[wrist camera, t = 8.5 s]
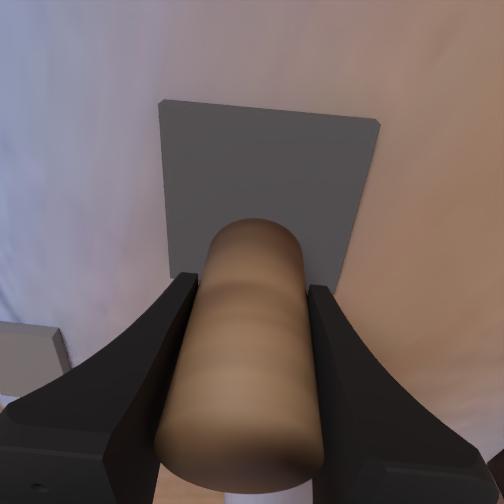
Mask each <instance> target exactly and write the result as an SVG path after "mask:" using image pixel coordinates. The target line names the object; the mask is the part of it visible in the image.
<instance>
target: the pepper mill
mask: <svg viewBox="0 0 504 504" xmlns="http://www.w3.org/2000/svg"><path fill="white" fill-rule="evenodd" d="M487 464H488V468H489V470H490V471H491V473H492V475H493V477H494V479H495V481H496V483H497V486H498V488H499V490H500V492H501V494H502V496H503V498H504V449H503V450H502V451H501V452H500V453H499V454H498V455H496V456H495V457H494V458H493V459H492V460H491V461H489V462H488V463H487Z"/></svg>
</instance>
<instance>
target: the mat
mask: <svg viewBox="0 0 504 504" xmlns="http://www.w3.org/2000/svg"><path fill="white" fill-rule="evenodd" d="M158 107H159V122H160V136H161V150H162V165H163V179H164V193H165V208H166V222H167V236H168V251H169V265H170V278H174V279H175V278H176V277H177V275H178V274H179V273H181V272H187V273H198V281H200V278H201V275H202V271H203V268H204V264H205V261H206V257H207V254H208V250H209V247H210V244H211V242H212V240H213V238H214V237H215V235H216V234H217V233H218V232H219V231H220V230H221V229H222V228H224V227H225V226H227V225H228V224H230V223H233V222H235V221H238V220H242V219H249V218H260V219H266V220H270V221H273V222H276V223H278V224H280V225H282V226H283V227H285V228H286V229H288V230H289V231H290V232H291V233H292V234H293V235H294V236H295V237H296V239H297V240H298V242H299V244H300V246H301V249H302V253H303V261H304V270H305V280H306V289H307V291H308V290H309V286H310V284H313V285H323V286H327V287H328V288H329V290H330V291H331V293H332V294H335V290H336V286H337V283H338V279H339V275H340V272H341V268H342V264H343V261H344V257H345V253H346V250H347V246H348V242H349V239H350V235H351V232H352V228H353V224H354V221H355V217H356V213H357V210H358V206H359V202H360V199H361V195H362V191H363V188H364V184H365V180H366V177H367V173H368V169H369V166H370V162H371V158H372V155H373V151H374V147H375V144H376V140H377V136H378V133H379V129H380V123H379V122H378V121H377V120H376V119H369V118H358V117H347V116H337V115H326V114H315V113H305V112H294V111H283V110H272V109H262V108H251V107H240V106H229V105H219V104H208V103H197V102H187V101H176V100H165V99H164V100H163V101H161V102H160V103H159V104H158Z"/></svg>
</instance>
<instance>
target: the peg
mask: <svg viewBox="0 0 504 504" xmlns="http://www.w3.org/2000/svg"><path fill="white" fill-rule="evenodd" d="M154 450H155V454H156V455H157V457H158V459H159V461H160V462H161V463H162V464H163V465H164V466H165V467H166V468H167V469H168V470H169V471H170V472H172V473H173V474H175V475H176V476H178V477H180V478H181V479H183V480H185V481H187V482H190V483H192V484H195V485H197V486H201V487H204V488H207V489H211V490H215V491H220V492H226V493H234V494H267V493H274V492H280V491H284V490H288V489H291V488H294V487H297V486H299V485H301V484H304V483H305V482H307V481H309V480H310V479H312V478H313V477H314V476H315V475H316V474H317V473H318V472H319V471H320V469H321V467H322V465H323V462H324V449H323V440H322V430H321V421H320V412H319V402H318V393H317V383H316V374H315V365H314V355H313V346H312V336H311V327H310V318H309V308H308V299H307V289H306V280H305V270H304V261H303V253H302V249H301V246H300V244H299V242H298V240H297V239H296V237H295V236H294V235H293V234H292V233H291V232H290V231H289V230H288V229H286V228H285V227H283V226H282V225H280V224H278V223H276V222H273V221H270V220H266V219H260V218H249V219H242V220H238V221H235V222H233V223H230V224H228V225H227V226H225V227H224V228H222V229H221V230H220V231H219V232H218V233H217V234H216V235H215V237H214V238H213V240H212V242H211V244H210V247H209V250H208V254H207V257H206V261H205V264H204V268H203V271H202V275H201V278H200V282H199V285H198V289H197V292H196V296H195V299H194V303H193V307H192V310H191V314H190V317H189V321H188V324H187V328H186V331H185V335H184V338H183V342H182V345H181V349H180V352H179V356H178V359H177V363H176V366H175V370H174V373H173V377H172V380H171V384H170V387H169V391H168V394H167V398H166V401H165V405H164V408H163V412H162V415H161V419H160V422H159V426H158V429H157V433H156V436H155V440H154Z"/></svg>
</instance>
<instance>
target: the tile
mask: <svg viewBox="0 0 504 504" xmlns="http://www.w3.org/2000/svg"><path fill="white" fill-rule="evenodd" d="M70 370H71V366H70V363H69V360H68V356H67V353H66V350H65V346H64V343H63V340H62V336H61V333H60V330H59V328H57V327H48V326H39V325H31V324H22V323H13V322H4V321H0V393H1V395H5V396H14V397H23V396H25V395H27V394H29V393H31V392H33V391H35V390H37V389H39V388H40V387H42V386H44V385H46V384H48V383H50V382H52V381H53V380H55V379H57V378H59V377H60V376H62V375H63V374H65V373H67V372H68V371H70Z"/></svg>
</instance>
